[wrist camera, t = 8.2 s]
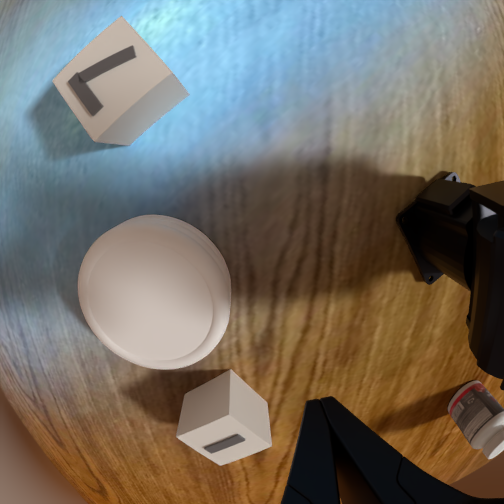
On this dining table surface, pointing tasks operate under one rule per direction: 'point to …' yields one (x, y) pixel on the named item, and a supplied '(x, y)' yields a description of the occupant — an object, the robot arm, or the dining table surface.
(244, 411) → the block one
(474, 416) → the pill bottle
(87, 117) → the block seven
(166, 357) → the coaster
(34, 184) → the dining table surface
